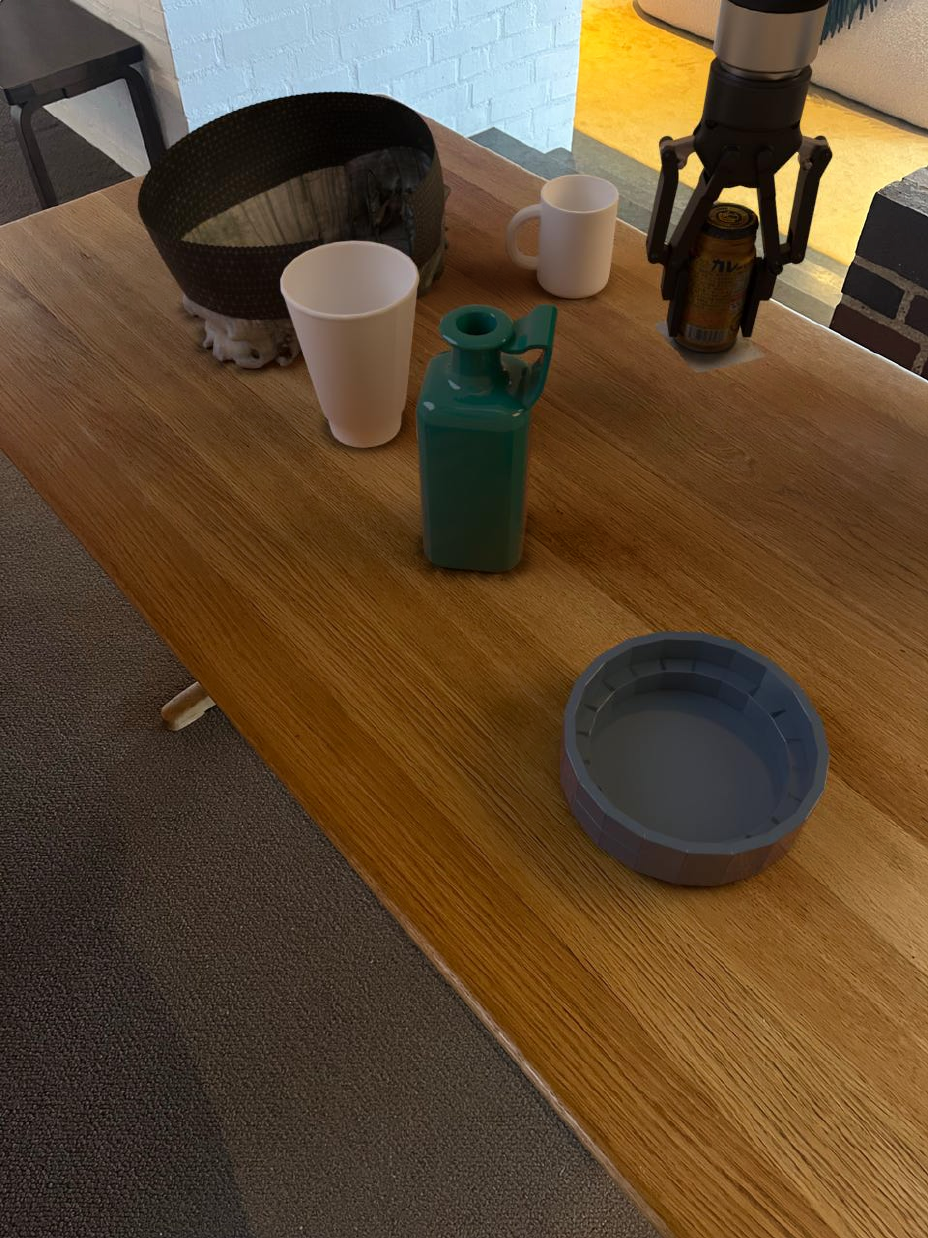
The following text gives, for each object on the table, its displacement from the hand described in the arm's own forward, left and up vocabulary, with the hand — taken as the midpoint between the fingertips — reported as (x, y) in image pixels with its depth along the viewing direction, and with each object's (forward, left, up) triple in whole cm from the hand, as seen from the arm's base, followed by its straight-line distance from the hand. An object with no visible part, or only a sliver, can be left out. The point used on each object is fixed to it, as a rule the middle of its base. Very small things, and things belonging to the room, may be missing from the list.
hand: (708, 328), depth 89 cm
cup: (+32, +5, -8) cm, 34 cm away
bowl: (+5, +43, -8) cm, 44 cm away
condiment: (0, 0, -2) cm, 2 cm away
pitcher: (+20, +20, -8) cm, 30 cm away
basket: (+39, -17, -8) cm, 44 cm away
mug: (+13, -21, -8) cm, 26 cm away
